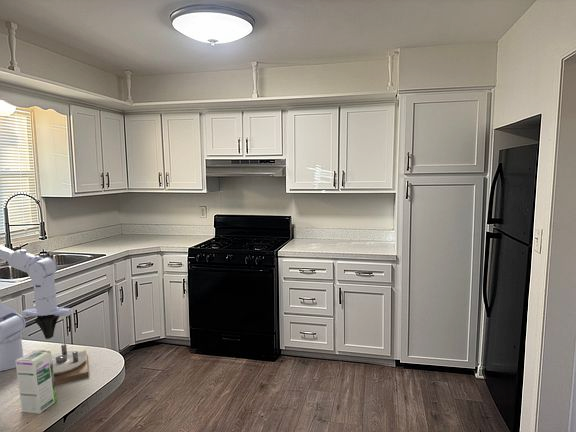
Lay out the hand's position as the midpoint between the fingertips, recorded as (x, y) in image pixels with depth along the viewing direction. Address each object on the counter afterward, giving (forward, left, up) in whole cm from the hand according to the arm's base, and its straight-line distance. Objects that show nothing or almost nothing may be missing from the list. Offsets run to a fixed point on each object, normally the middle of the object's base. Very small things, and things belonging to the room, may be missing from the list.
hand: (49, 337), depth 124 cm
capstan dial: (+6, +3, -8) cm, 10 cm away
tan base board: (+6, +3, -9) cm, 12 cm away
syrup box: (+25, -2, -10) cm, 27 cm away
